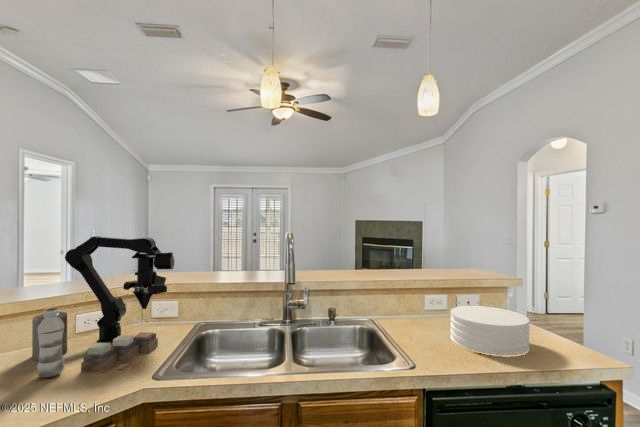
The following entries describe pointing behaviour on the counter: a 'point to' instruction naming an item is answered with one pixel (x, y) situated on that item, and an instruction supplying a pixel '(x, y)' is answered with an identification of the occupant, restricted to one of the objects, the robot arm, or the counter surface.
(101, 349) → the sage button
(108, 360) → the button panel
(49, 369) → the plastic bottle
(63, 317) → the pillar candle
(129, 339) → the cream button
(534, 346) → the counter surface
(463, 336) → the plate stack
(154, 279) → the robot arm
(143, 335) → the terracotta button
